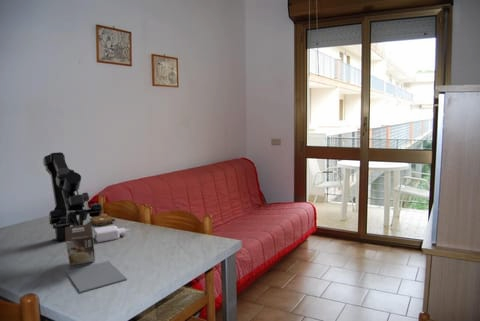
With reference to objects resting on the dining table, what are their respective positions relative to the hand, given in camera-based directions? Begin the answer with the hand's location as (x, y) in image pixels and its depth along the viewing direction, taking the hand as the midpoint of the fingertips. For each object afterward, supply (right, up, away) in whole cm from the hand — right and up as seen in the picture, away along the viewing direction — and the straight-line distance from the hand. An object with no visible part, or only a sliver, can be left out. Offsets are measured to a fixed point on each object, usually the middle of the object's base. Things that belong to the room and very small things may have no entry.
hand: (81, 231), depth 142 cm
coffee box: (-1, -10, +2) cm, 10 cm away
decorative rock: (-13, -6, +56) cm, 58 cm away
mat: (+10, -13, -11) cm, 20 cm away
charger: (+2, -9, +31) cm, 33 cm away
